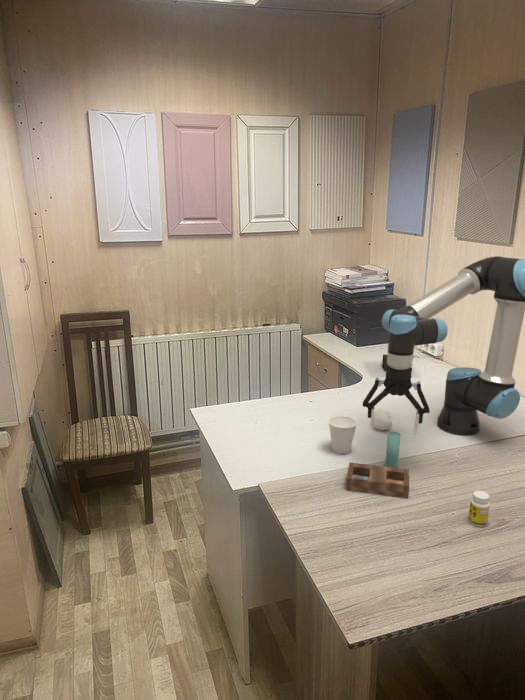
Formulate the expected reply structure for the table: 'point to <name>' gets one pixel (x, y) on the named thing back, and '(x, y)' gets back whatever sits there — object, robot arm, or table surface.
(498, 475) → the table surface
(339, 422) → the cup
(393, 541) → the table surface
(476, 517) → the supplement bottle
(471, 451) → the table surface
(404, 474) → the socket block
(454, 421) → the robot arm
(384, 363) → the wooden crate
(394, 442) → the plug
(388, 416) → the beige round lump
